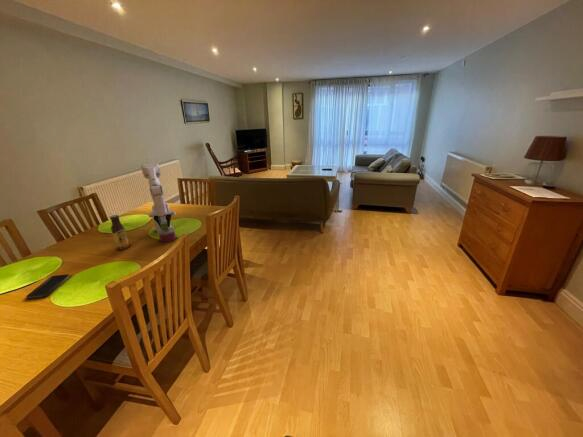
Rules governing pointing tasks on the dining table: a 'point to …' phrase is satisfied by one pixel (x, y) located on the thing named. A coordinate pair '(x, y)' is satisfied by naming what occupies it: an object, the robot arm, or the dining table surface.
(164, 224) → the block
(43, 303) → the dining table surface
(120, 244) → the sauce bottle
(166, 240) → the jar
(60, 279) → the phone
